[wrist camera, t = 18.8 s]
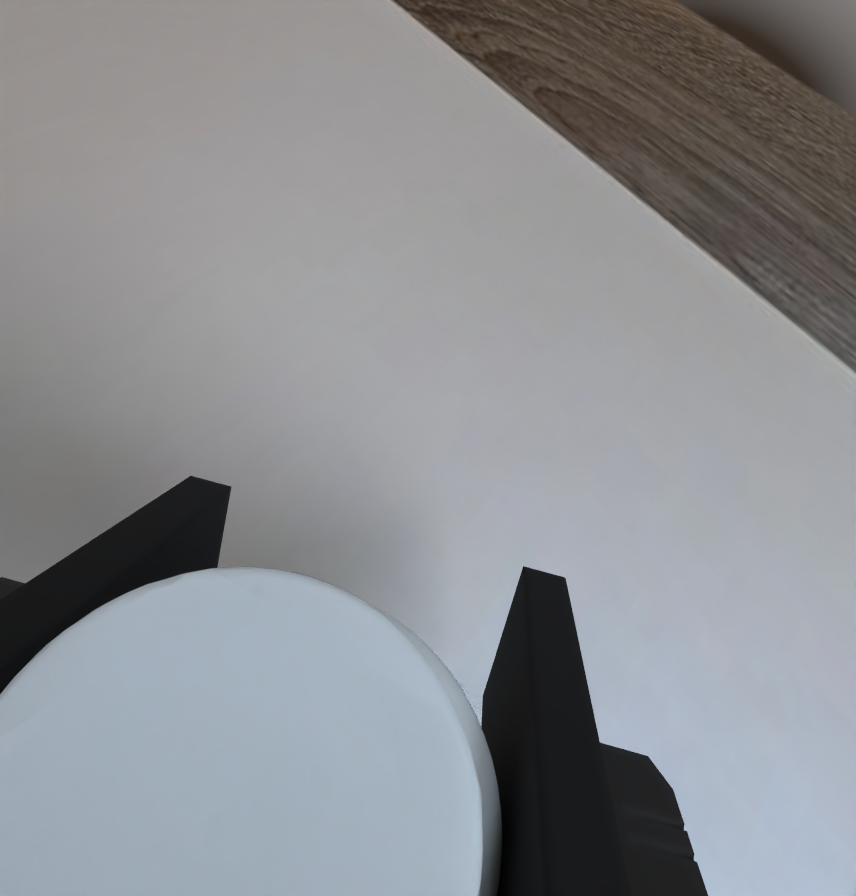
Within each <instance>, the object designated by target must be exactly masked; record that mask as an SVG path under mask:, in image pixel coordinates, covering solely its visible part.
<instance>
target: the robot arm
mask: <svg viewBox="0 0 856 896" xmlns="http://www.w3.org/2000/svg"><path fill="white" fill-rule="evenodd" d="M230 491H231V487H230V486H226V485H223V484H219V483H215V482H212V481H208V480H204V479H201V478H197V477H193V476H190V477H188V478H187V479H185V480H184V481H182V482H181V483H179V484H178V485H176V486H175V487H173V488H171V489H170V490H168V491H167V492H165V493H164V494H162V495H161V496H159V497H158V498H156V499H155V500H153V501H151V502H150V503H148V504H147V505H145V506H144V507H142V508H141V509H139V510H138V511H136V512H135V513H133V514H132V515H130V516H128V517H127V518H125V519H124V520H122V521H121V522H119V523H118V524H116V525H115V526H113V527H112V528H110V529H108V530H107V531H105V532H104V533H102V534H101V535H99V536H98V537H96V538H95V539H93V540H92V541H90V542H89V543H87V544H85V545H84V546H82V547H81V548H79V549H78V550H76V551H75V552H73V553H72V554H70V555H69V556H67V557H65V558H64V559H62V560H61V561H59V562H58V563H56V564H55V565H53V566H52V567H50V568H49V569H47V570H46V571H44V572H42V573H41V574H39V575H38V576H36V577H35V578H33V579H32V580H30V581H29V582H27V583H26V584H25V583H21V582H17V581H14V580H10V579H7V578H3V577H1V578H0V694H1V693H2V691H3V690H4V689H5V688H6V687H7V685H8V684H9V683H10V682H11V681H12V679H13V678H14V677H15V676H16V675H17V674H18V673H19V672H20V671H21V670H22V669H23V668H24V667H25V666H26V665H27V664H28V663H29V662H30V661H31V660H32V659H33V658H34V657H35V656H36V655H37V654H38V653H39V652H40V651H41V650H42V649H43V648H44V647H45V646H46V645H47V644H48V643H50V642H51V641H52V640H53V639H55V638H56V637H57V636H58V635H59V634H61V633H62V632H63V631H64V630H66V629H67V628H69V627H70V626H72V625H73V624H75V623H76V622H78V621H79V620H81V619H82V618H84V617H85V616H87V615H88V614H90V613H91V612H92V611H94V610H95V609H97V608H99V607H101V606H102V605H104V604H106V603H108V602H110V601H112V600H114V599H116V598H118V597H120V596H122V595H124V594H125V593H128V592H130V591H132V590H135V589H137V588H139V587H142V586H144V585H147V584H150V583H154V582H157V581H161V580H164V579H167V578H171V577H174V576H177V575H180V574H184V573H189V572H194V571H200V570H205V569H211V568H217V565H218V560H219V554H220V548H221V543H222V537H223V531H224V525H225V520H226V514H227V508H228V503H229V497H230ZM482 731H483V733H484V736H485V739H486V742H487V745H488V748H489V751H490V754H491V757H492V761H493V765H494V769H495V774H496V779H497V784H498V790H499V798H500V806H501V818H502V854H501V868H500V880H499V887H498V892H497V896H708V894H707V891H706V888H705V885H704V882H703V879H702V876H701V873H700V870H699V867H698V864H697V862H695V861H694V852H693V849H692V846H691V843H690V840H689V837H688V834H687V831H684V822H683V819H682V816H681V813H680V810H679V807H678V804H677V800H676V797H675V794H674V791H673V789H672V788H671V786H670V785H669V784H668V782H667V781H666V780H665V778H664V777H663V776H662V774H661V773H660V772H659V770H658V769H657V768H656V766H655V765H654V764H653V762H652V761H651V760H650V758H649V757H648V756H645V755H642V754H638V753H635V752H631V751H627V750H624V749H620V748H617V747H613V746H610V745H606V744H603V743H600V742H599V737H598V733H597V728H596V723H595V718H594V713H593V708H592V704H591V699H590V694H589V689H588V684H587V680H586V675H585V670H584V665H583V660H582V656H581V651H580V646H579V641H578V636H577V631H576V627H575V622H574V617H573V612H572V607H571V603H570V598H569V593H568V588H567V583H566V578H564V577H561V576H557V575H553V574H550V573H546V572H542V571H539V570H535V569H531V568H528V567H524V566H523V569H522V572H521V576H520V579H519V582H518V585H517V588H516V592H515V595H514V598H513V601H512V604H511V608H510V611H509V614H508V617H507V621H506V624H505V627H504V630H503V633H502V637H501V640H500V643H499V646H498V649H497V653H496V656H495V659H494V662H493V666H492V669H491V672H490V675H489V678H488V682H487V685H486V688H485V691H484V694H483V706H482Z"/></svg>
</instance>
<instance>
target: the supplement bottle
mask: <svg viewBox="0 0 856 896" xmlns="http://www.w3.org/2000/svg"><path fill="white" fill-rule="evenodd" d="M501 854H502V818H501V806H500V798H499V790H498V784H497V779H496V774H495V769H494V765H493V761H492V757H491V754H490V751H489V748H488V745H487V742H486V739H485V736H484V733H483V731H482V728H481V726H480V723H479V721H478V719H477V716H476V714H475V712H474V710H473V708H472V707H471V705H470V703H469V701H468V699H467V697H466V695H465V693H464V692H463V690H462V688H461V686H460V685H459V683H458V682H457V681H456V679H455V678H454V676H453V675H452V673H451V672H450V671H449V669H448V668H447V667H446V666H445V665H444V663H443V662H442V661H441V660H440V658H439V657H438V656H437V655H436V654H435V653H434V652H433V650H432V649H431V648H430V647H429V646H428V645H427V644H426V643H425V642H424V641H422V640H421V639H420V638H419V637H418V636H417V635H416V634H415V633H413V632H412V631H411V630H409V629H408V628H407V627H406V626H404V625H403V624H401V623H400V622H399V621H397V620H396V619H395V618H393V617H391V616H390V615H388V614H387V613H385V612H383V611H382V610H380V609H378V608H376V607H374V606H372V605H370V604H368V603H366V602H364V601H362V600H360V599H359V598H357V597H355V596H353V595H351V594H350V593H348V592H346V591H344V590H342V589H340V588H338V587H336V586H333V585H330V584H327V583H325V582H323V581H320V580H318V579H315V578H312V577H309V576H305V575H301V574H298V573H293V572H288V571H282V570H274V569H268V568H256V567H223V568H211V569H205V570H200V571H194V572H189V573H184V574H180V575H177V576H174V577H171V578H167V579H164V580H161V581H157V582H154V583H150V584H147V585H144V586H142V587H139V588H137V589H135V590H132V591H130V592H128V593H125V594H124V595H122V596H120V597H118V598H116V599H114V600H112V601H110V602H108V603H106V604H104V605H102V606H101V607H99V608H97V609H95V610H94V611H92V612H91V613H90V614H88V615H87V616H85V617H84V618H82V619H81V620H79V621H78V622H76V623H75V624H73V625H72V626H70V627H69V628H67V629H66V630H64V631H63V632H62V633H61V634H59V635H58V636H57V637H56V638H55V639H53V640H52V641H51V642H50V643H48V644H47V645H46V646H45V647H44V648H43V649H42V650H41V651H40V652H39V653H38V654H37V655H36V656H35V657H34V658H33V659H32V660H31V661H30V662H29V663H28V664H27V665H26V666H25V667H24V668H23V669H22V670H21V671H20V672H19V673H18V674H17V675H16V676H15V677H14V678H13V679H12V681H11V682H10V683H9V684H8V685H7V687H6V688H5V689H4V690H3V691H2V693H1V694H0V896H497V892H498V887H499V880H500V868H501Z"/></svg>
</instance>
